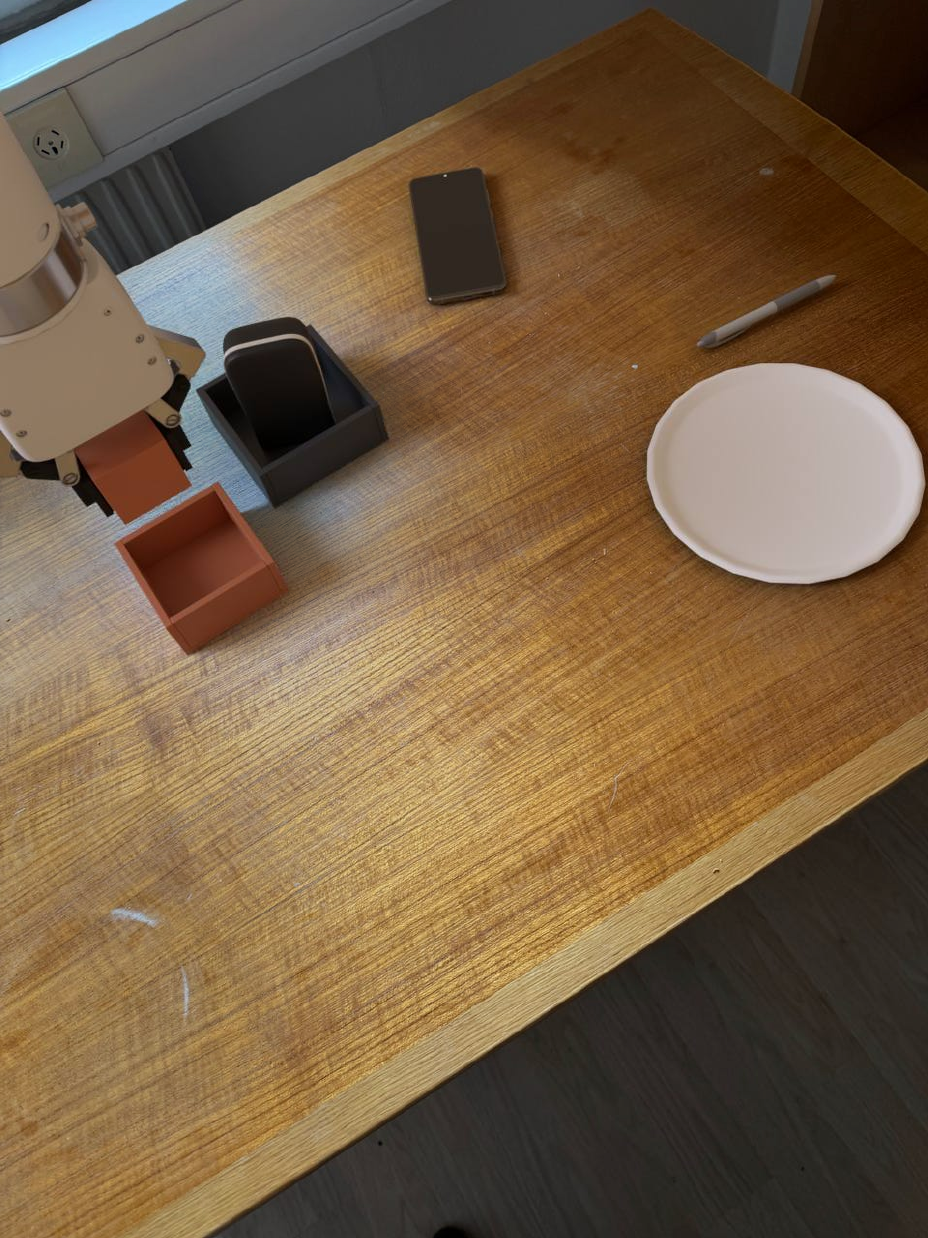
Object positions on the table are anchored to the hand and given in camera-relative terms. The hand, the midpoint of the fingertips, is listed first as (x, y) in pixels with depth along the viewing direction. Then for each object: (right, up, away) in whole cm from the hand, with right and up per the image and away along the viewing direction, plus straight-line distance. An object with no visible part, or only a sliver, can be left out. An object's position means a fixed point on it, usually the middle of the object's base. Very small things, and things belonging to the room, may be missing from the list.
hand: (140, 477), depth 68 cm
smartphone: (+21, +26, +28) cm, 44 cm away
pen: (+47, +16, +20) cm, 54 cm away
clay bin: (+1, -6, +14) cm, 15 cm away
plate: (+46, +2, +13) cm, 48 cm away
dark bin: (+7, +7, +20) cm, 22 cm away
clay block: (0, 0, 0) cm, 0 cm away
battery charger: (+7, +7, +19) cm, 22 cm away
